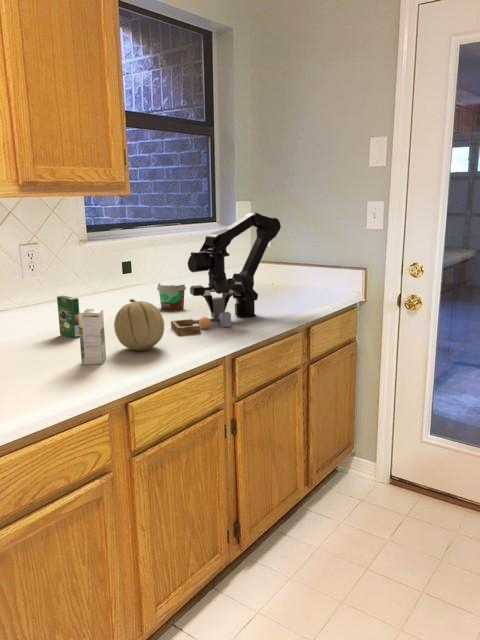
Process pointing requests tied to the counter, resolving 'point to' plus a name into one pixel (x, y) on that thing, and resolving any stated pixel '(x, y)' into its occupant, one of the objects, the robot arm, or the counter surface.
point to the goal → (185, 327)
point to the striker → (220, 311)
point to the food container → (171, 297)
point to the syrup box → (92, 336)
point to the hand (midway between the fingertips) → (217, 312)
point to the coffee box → (68, 316)
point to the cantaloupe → (139, 325)
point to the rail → (210, 320)
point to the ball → (204, 322)
